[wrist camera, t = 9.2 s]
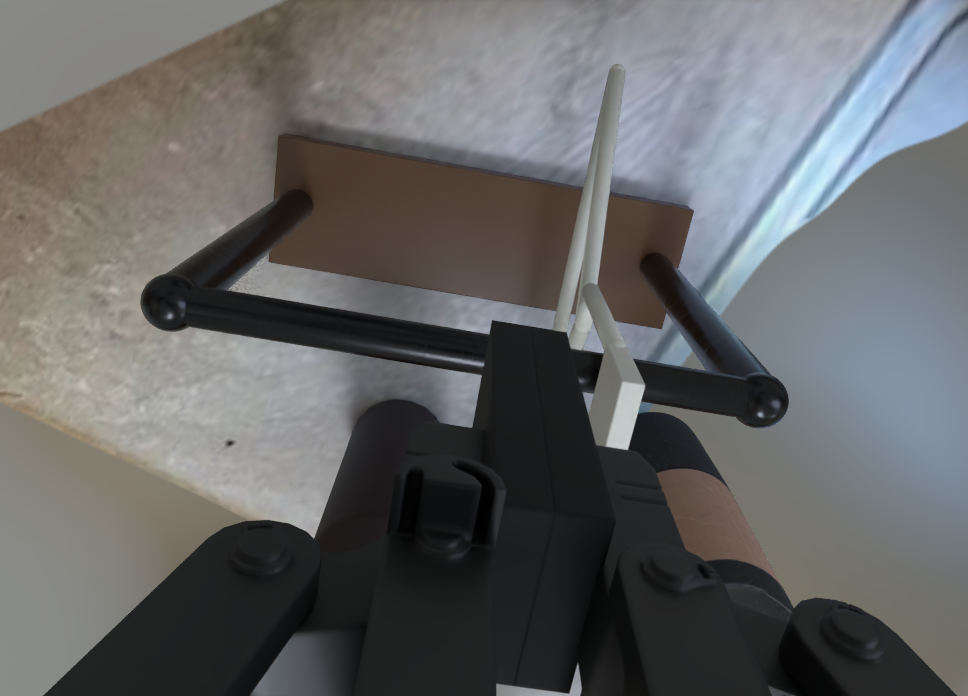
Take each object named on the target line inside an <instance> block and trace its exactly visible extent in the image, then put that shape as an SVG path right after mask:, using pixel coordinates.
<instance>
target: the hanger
mask: <svg viewBox="0 0 968 696" xmlns="http://www.w3.org/2000/svg"><path fill="white" fill-rule="evenodd" d="M624 79H625V69H624V67H623V66H622V65H620V64H615V65H613V66H612V67H611V68H610V70H609V74H608V78H607V83H606V87H605V92H604V96H603V101H602V106H601V110H600V115H599V119H598V124H597V128H596V133H595V137H594V142H593V146H592V151H591V156H590V160H589V165H588V169H587V174H586V178H585V183H584V187H583V192H582V197H581V201H580V206H579V210H578V215H577V219H576V224H575V228H574V233H573V238H572V242H571V247H570V251H569V256H568V260H567V265H566V269H565V274H564V278H563V283H562V288H561V292H560V297H559V301H558V306H557V310H556V315H555V319H554V324H553V329H552V330H555V331H561V332H567V328H568V324H569V319H570V315H571V310H572V306H573V302H574V297H575V293H576V288H577V284H578V280H579V275H580V271H581V266H582V272H581V280H580V287H579V294H578V301H577V309H576V316H575V323H574V325H573V328H572V331H571V333H570V336H569V339H568V340H569V344H570V348H572V349H578V350H582V349H583V347H584V344H585V342H586V339H587V337H588V334H589V332H590V329H591V327H592V323H594V325H595V328H596V330H597V333H598V335H599V338H600V340H601V343H602V346H603V348H604V355H603V359H602V363H601V367H600V371H599V375H598V379H597V383H596V387H595V391H594V396H593V400H592V404H591V408H590V412H589V420H590V424H591V427H592V431H593V435H594V439H595V443H596V445H599V446H605V447H612V448H618V449H625V450H628V447H629V444H630V440H631V436H632V433H633V429H634V425H635V422H636V418H637V414H638V411H639V407H640V403H641V400H642V396H643V392H644V389H645V383H644V381H643V379H642V377H641V375H640V373H639V371H638V369H637V367H636V364H635V362H634V360H633V358H632V356H631V354H630V352H629V350H628V348H627V346H626V344H625V342H624V340H623V338H622V335H621V333H620V331H619V329H618V327H617V325H616V323H615V321H614V319H613V316H612V314H611V312H610V310H609V308H608V306H607V304H606V302H605V300H604V297H603V295H602V293H601V291H600V289H599V287H598V286H597V282H598V275H599V267H600V260H601V252H602V245H603V237H604V230H605V222H606V215H607V207H608V200H609V192H610V185H611V177H612V170H613V162H614V155H615V147H616V140H617V132H618V124H619V117H620V109H621V102H622V94H623V87H624ZM582 262H583V265H582Z"/></svg>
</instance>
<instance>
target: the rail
mask: <svg viewBox="0 0 968 696" xmlns="http://www.w3.org/2000/svg"><path fill="white" fill-rule="evenodd" d="M582 192H583V187H579V186H573V185H567V184H562V183H556V182H551V181H545V180H540V179H534V178H529V177H523V176H517V175H512V174H506V173H501V172H495V171H490V170H484V169H479V168H473V167H468V166H462V165H456V164H451V163H445V162H440V161H434V160H429V159H423V158H418V157H412V156H406V155H401V154H395V153H390V152H384V151H379V150H373V149H368V148H362V147H356V146H351V145H345V144H340V143H334V142H329V141H323V140H318V139H312V138H307V137H301V136H295V135H290V134H283V135H281V136H279V140H278V152H277V165H276V177H275V189H274V201H273V202H271V203H270V204H268V205H267V206H265V207H264V208H262V209H261V210H259V211H258V212H256V213H255V214H253V215H252V216H250V217H249V218H247V219H246V220H245V221H243V222H242V223H240V224H239V225H237V226H236V227H234V228H233V229H231V230H230V231H228V232H227V233H225V234H224V235H222V236H221V237H219V238H218V239H216V240H215V241H213V242H212V243H210V244H209V245H208V246H206V247H205V248H203V249H202V250H200V251H199V252H197V253H196V254H194V255H193V256H191V257H190V258H188V259H187V260H185V261H184V262H182V263H181V264H179V265H178V266H176V267H175V268H173V269H172V270H171V271H169V272H168V273H166V274H163V275H160V276H158V277H155V278H154V279H152V280H151V281H150V282H149V283H148V284H147V285H146V286H145V288H144V290H143V292H142V295H141V309H142V312H143V314H144V316H145V318H146V319H147V320H148V322H149V323H151V324H152V325H153V326H155V327H156V328H158V329H161V330H164V331H169V332H176V331H181V330H184V329H187V328H189V327H193V328H199V329H205V330H211V331H217V332H223V333H229V334H235V335H241V336H247V337H254V338H260V339H266V340H272V341H278V342H284V343H290V344H296V345H302V346H308V347H314V348H320V349H326V350H332V351H338V352H344V353H350V354H356V355H363V356H369V357H375V358H381V359H387V360H393V361H399V362H405V363H411V364H417V365H423V366H429V367H435V368H441V369H447V370H453V371H459V372H465V373H472V374H478V375H482V373H483V367H484V362H485V356H486V351H487V346H488V340H489V334H483V333H477V332H471V331H465V330H459V329H453V328H447V327H441V326H435V325H429V324H424V323H418V322H412V321H406V320H400V319H394V318H388V317H382V316H376V315H370V314H364V313H358V312H352V311H346V310H340V309H334V308H328V307H322V306H316V305H311V304H305V303H299V302H293V301H287V300H281V299H275V298H269V297H263V296H257V295H251V294H245V293H239V292H233V291H227V290H228V289H229V288H230V287H231V286H232V285H234V284H235V283H236V282H237V281H238V280H239V279H240V278H241V277H242V276H244V275H245V274H246V273H247V272H248V271H249V270H250V269H251V268H252V267H254V266H255V265H256V264H257V263H258V262H259V261H260V260H261V259H262V258H264V257H265V256H266V255H267V254H268V253H269V262H271V263H277V264H283V265H289V266H295V267H301V268H307V269H312V270H318V271H324V272H330V273H336V274H342V275H348V276H353V277H359V278H365V279H371V280H377V281H383V282H389V283H394V284H400V285H406V286H412V287H418V288H424V289H430V290H435V291H441V292H447V293H453V294H459V295H465V296H471V297H476V298H482V299H488V300H494V301H500V302H506V303H512V304H517V305H523V306H529V307H535V308H541V309H547V310H553V311H556V310H557V306H558V301H559V297H560V292H561V288H562V283H563V278H564V274H565V269H566V265H567V260H568V256H569V251H570V247H571V242H572V238H573V233H574V228H575V224H576V219H577V215H578V210H579V206H580V201H581V197H582ZM693 212H694V210H692V209H691V208H690V207H688V206H684V205H678V204H673V203H667V202H662V201H656V200H651V199H645V198H640V197H634V196H629V195H623V194H617V193H612V192H609V200H608V207H607V215H606V222H605V230H604V237H603V245H602V252H601V260H600V267H599V275H598V282H597V286H598V287H599V289H600V291H601V293H602V295H603V297H604V300H605V302H606V304H607V306H608V308H609V310H610V312H611V314H612V316H613V319H614V321H617V322H623V323H629V324H635V325H640V326H646V327H652V328H658V329H662V326H663V322H664V319H665V315H666V312H667V314H668V315H669V317H670V318H671V320H672V321H673V323H674V324H675V325H676V327H677V328H678V330H679V331H680V333H681V334H682V336H683V337H684V338H685V340H686V341H687V343H688V344H689V346H690V347H691V349H692V350H693V352H694V353H695V354H696V356H697V357H698V359H699V360H700V361H701V363H702V365H703V366H704V367H705V369H706V370H707V371H703V370H697V369H691V368H685V367H679V366H673V365H667V364H661V363H655V362H649V361H644V360H638V359H633V360H634V362H635V364H636V367H637V369H638V371H639V373H640V375H641V377H642V379H643V381H644V383H645V389H644V392H643V396H642V400H641V402H647V403H653V404H659V405H665V406H672V407H677V408H684V409H689V410H696V411H702V412H708V413H714V414H720V415H726V416H732V417H736V418H737V419H738V420H739V421H740V422H742V423H743V424H745V425H747V426H749V427H753V428H767V427H770V426H773V425H775V424H776V423H778V422H779V421H780V420H781V419H782V418H783V417H784V415H785V413H786V411H787V409H788V404H789V399H788V394H787V391H786V389H785V387H784V385H783V384H782V383H781V382H780V381H779V380H778V379H777V378H775V377H774V376H772V375H771V374H770V373H769V372H768V371H767V370H766V369H765V367H764V366H763V365H761V363H760V362H759V361H758V360H757V358H756V357H755V356H754V355H753V354H752V353H751V352H750V350H749V349H748V348H747V347H746V346H745V345H744V344H743V343H742V342H741V340H740V339H739V338H738V337H737V336H736V335H735V334H734V332H733V331H732V330H731V329H730V328H729V327H728V326H727V324H726V323H725V322H724V321H723V320H722V319H721V318H720V316H719V315H718V314H717V313H716V312H715V311H714V310H713V309H712V307H711V306H710V305H709V304H708V303H707V302H706V301H705V299H704V298H703V297H702V296H701V295H700V294H699V293H698V292H697V290H696V289H695V288H694V287H693V286H692V285H691V284H690V282H689V281H688V280H687V279H686V278H685V277H684V276H683V275H682V273H681V272H680V271H679V270H678V267H679V264H680V260H681V256H682V253H683V249H684V245H685V242H686V238H687V234H688V231H689V227H690V223H691V220H692V216H693ZM582 265H583V262H582ZM581 272H582V266H581V271H580V275H579V280H578V284H577V288H576V293H575V297H574V302H573V306H572V310H571V314H576V309H577V301H578V294H579V287H580V280H581ZM571 351H572V355H573V359H574V363H575V367H576V370H577V374H578V378H579V382H580V386H581V389H582V392H587V393H593V394H594V391H595V387H596V383H597V379H598V375H599V371H600V367H601V363H602V359H603V355H604V354H602V353H596V352H590V351H584V350H578V349H572V348H571Z"/></svg>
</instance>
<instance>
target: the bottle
mask: <svg viewBox="0 0 968 696" xmlns="http://www.w3.org/2000/svg"><path fill="white" fill-rule="evenodd" d="M425 421H429V422H436V423H439V422H438V420H437V418H436V417H435V416H434V415H433V414H432V413H430V412H429V411H428V410H427V409H426V408H424V407H422V406H420V405H417V404H415V403H413V402H409V401H401V400H393V401H387V402H382V403H380V404H378V405H376V406H374V407H372V408H370V409H368V410H367V411H366V412H365V413H364V414H363V415H362V416H361V417H360V418H359V419H358V421H357V424H356V426H355V428H354V430H353V432H352V435H351V438H350V440H349V443H348V446H347V449H346V452H345V454H344V457H343V460H342V463H341V466H340V468H339V471H338V474H337V477H336V479H335V482H334V485H333V488H332V491H331V493H330V496H329V499H328V502H327V504H326V507H325V510H324V513H323V516H322V518H321V521H320V524H319V527H318V530H317V532H316V535H315V538H314V540H315V541H316V542H317V543H318V544H319V548H320V553H333V552H342V551H349V550H355V549H358V548H361V547H364V546H367V545H369V544H371V543H373V542H374V541H376V540H378V539H379V538H381V536H382V535H383V534H384V533H385V532H386V531H387V527H388V520H389V513H390V506H391V500H392V493H393V486H394V479H395V474H396V472H397V471H398V469H399V467H400V466H401V464H403V463H404V459H405V454H406V449H407V444H408V439H409V435H410V433H411V432H412V431H414V430H415V429H416V428H417V427H419V426H420V425H421V424H422V423H423V422H425Z"/></svg>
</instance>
